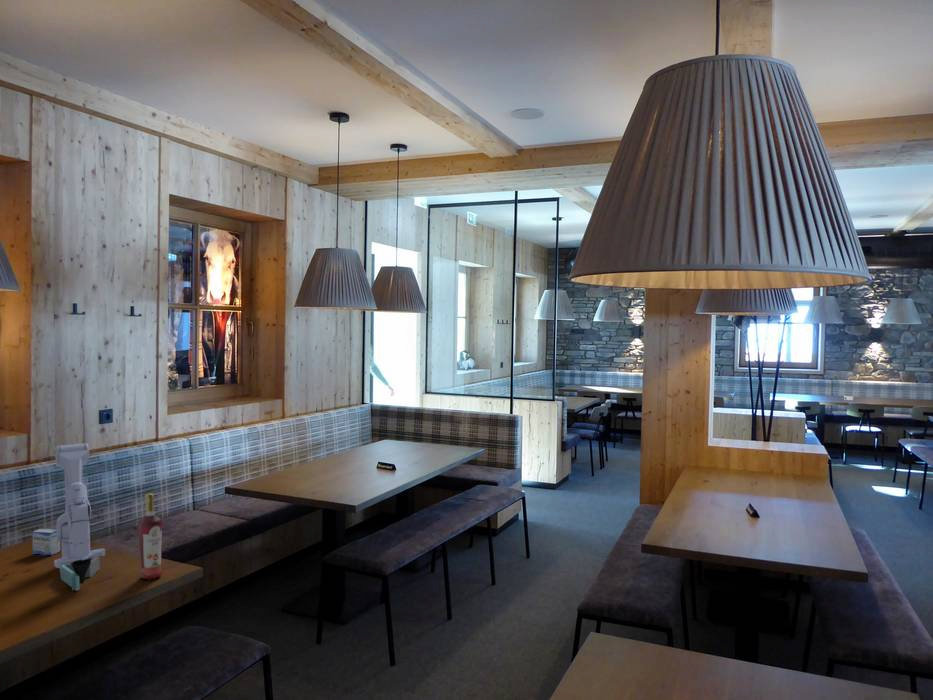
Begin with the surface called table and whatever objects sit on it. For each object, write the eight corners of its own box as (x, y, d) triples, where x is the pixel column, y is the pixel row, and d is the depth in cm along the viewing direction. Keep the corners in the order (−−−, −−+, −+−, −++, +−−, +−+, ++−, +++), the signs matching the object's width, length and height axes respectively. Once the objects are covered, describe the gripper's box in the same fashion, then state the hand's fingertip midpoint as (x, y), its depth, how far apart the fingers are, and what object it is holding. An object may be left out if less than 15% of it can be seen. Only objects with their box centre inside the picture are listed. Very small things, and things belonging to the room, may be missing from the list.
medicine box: (32, 555, 249) (31, 531, 249) (41, 551, 254) (41, 528, 253) (51, 556, 248) (50, 532, 248) (60, 552, 253) (59, 529, 252)
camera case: (72, 570, 233) (72, 556, 233) (99, 569, 234) (99, 555, 234) (62, 578, 226) (61, 563, 226) (90, 577, 227) (89, 562, 227)
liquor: (146, 583, 222) (144, 498, 220) (135, 578, 226) (132, 495, 225) (167, 576, 227) (165, 493, 226) (156, 571, 232) (154, 490, 231)
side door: (57, 579, 225) (57, 565, 225) (63, 577, 226) (63, 563, 226) (73, 592, 214) (73, 577, 214) (80, 590, 216) (79, 575, 216)
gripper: (59, 549, 210) (60, 593, 210) (108, 538, 221) (109, 579, 221) (51, 544, 214) (52, 587, 215) (99, 533, 225) (101, 574, 226)
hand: (81, 582), depth 218 cm, fingers closed
